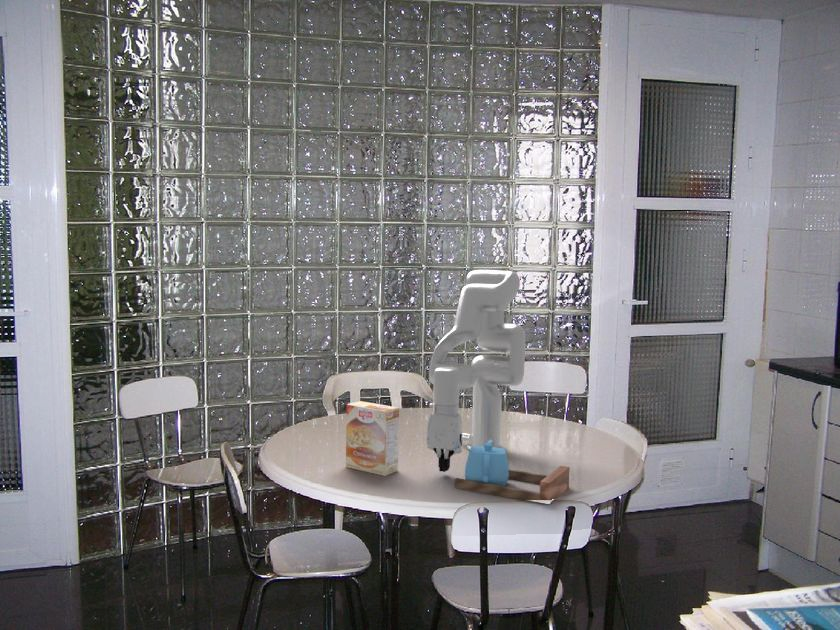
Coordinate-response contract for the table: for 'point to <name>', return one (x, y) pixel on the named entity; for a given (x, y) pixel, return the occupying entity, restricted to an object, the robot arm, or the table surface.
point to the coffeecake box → (372, 437)
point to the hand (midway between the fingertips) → (444, 470)
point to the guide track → (549, 483)
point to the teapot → (487, 465)
